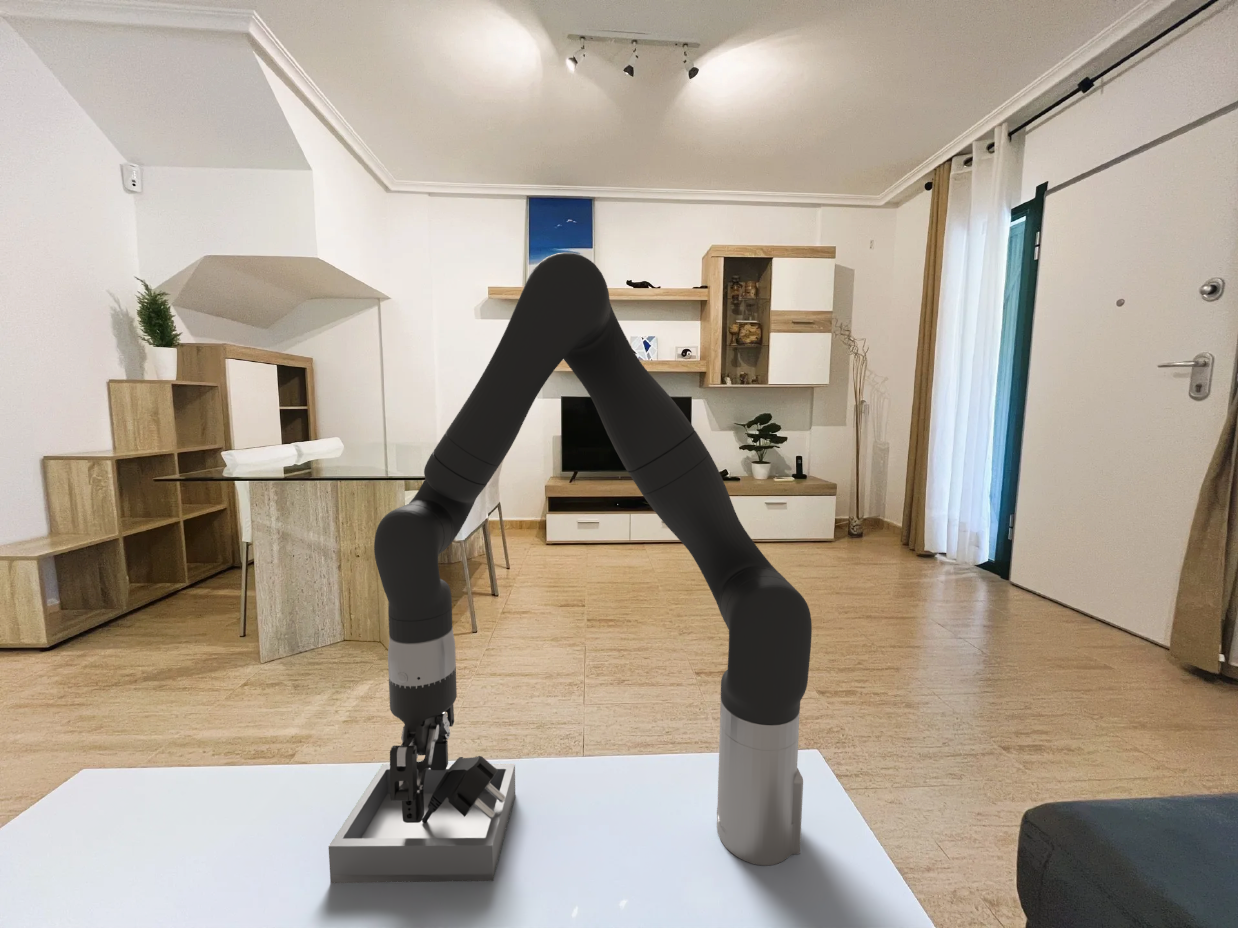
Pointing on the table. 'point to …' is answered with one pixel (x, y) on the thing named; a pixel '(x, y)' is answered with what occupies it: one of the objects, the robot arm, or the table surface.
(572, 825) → the table surface
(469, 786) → the power plug
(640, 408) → the robot arm
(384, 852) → the box
